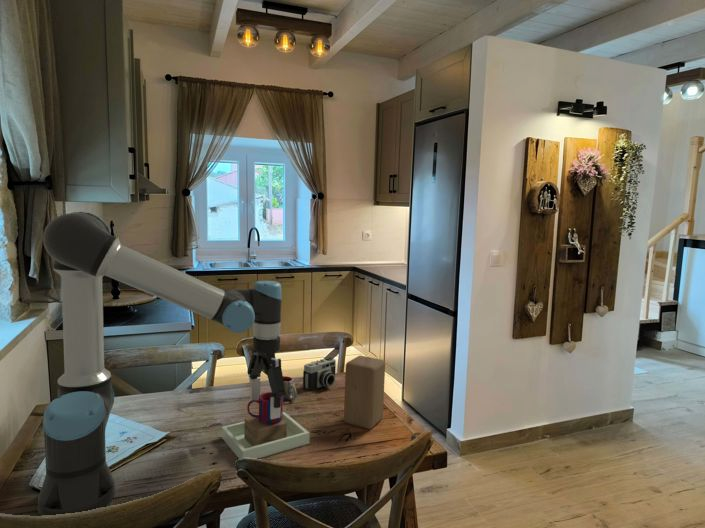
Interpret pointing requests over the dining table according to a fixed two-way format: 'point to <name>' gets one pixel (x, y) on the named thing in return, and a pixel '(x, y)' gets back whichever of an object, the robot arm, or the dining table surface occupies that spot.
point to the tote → (244, 449)
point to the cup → (266, 409)
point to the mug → (289, 388)
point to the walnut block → (263, 431)
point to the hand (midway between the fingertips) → (264, 408)
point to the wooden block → (364, 391)
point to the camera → (319, 374)
